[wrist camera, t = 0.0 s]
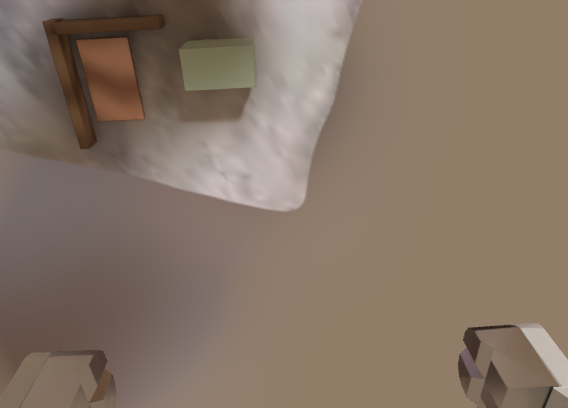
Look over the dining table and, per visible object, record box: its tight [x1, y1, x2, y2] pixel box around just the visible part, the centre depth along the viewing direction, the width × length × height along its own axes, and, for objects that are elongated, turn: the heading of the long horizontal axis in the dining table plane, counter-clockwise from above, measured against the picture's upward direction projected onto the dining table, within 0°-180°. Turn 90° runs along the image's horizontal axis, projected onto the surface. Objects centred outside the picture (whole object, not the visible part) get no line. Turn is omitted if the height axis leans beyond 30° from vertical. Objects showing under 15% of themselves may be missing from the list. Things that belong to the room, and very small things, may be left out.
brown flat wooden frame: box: [43, 15, 164, 149], centre depth 52 cm, size 15×13×2 cm
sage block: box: [179, 37, 256, 91], centre depth 50 cm, size 4×8×6 cm, turn 93°
